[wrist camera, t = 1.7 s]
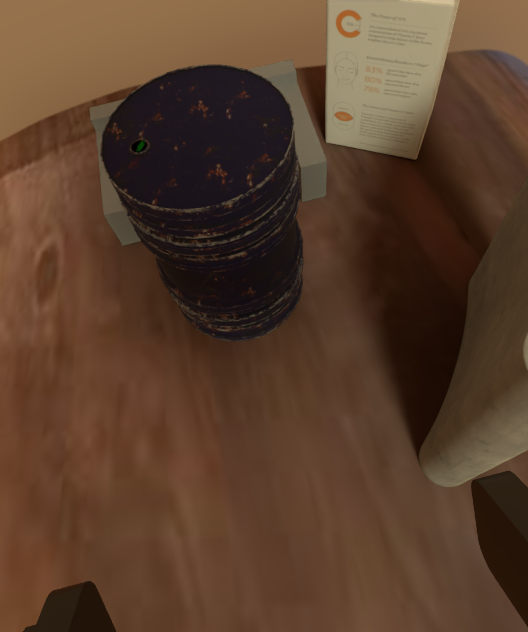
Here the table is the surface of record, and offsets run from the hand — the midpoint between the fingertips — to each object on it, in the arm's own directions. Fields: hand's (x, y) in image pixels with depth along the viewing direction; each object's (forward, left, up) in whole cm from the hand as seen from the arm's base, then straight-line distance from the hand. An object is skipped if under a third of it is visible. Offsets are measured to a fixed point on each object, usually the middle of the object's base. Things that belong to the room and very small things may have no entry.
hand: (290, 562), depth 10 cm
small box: (+15, +31, -21) cm, 41 cm away
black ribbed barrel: (0, +19, -21) cm, 29 cm away
